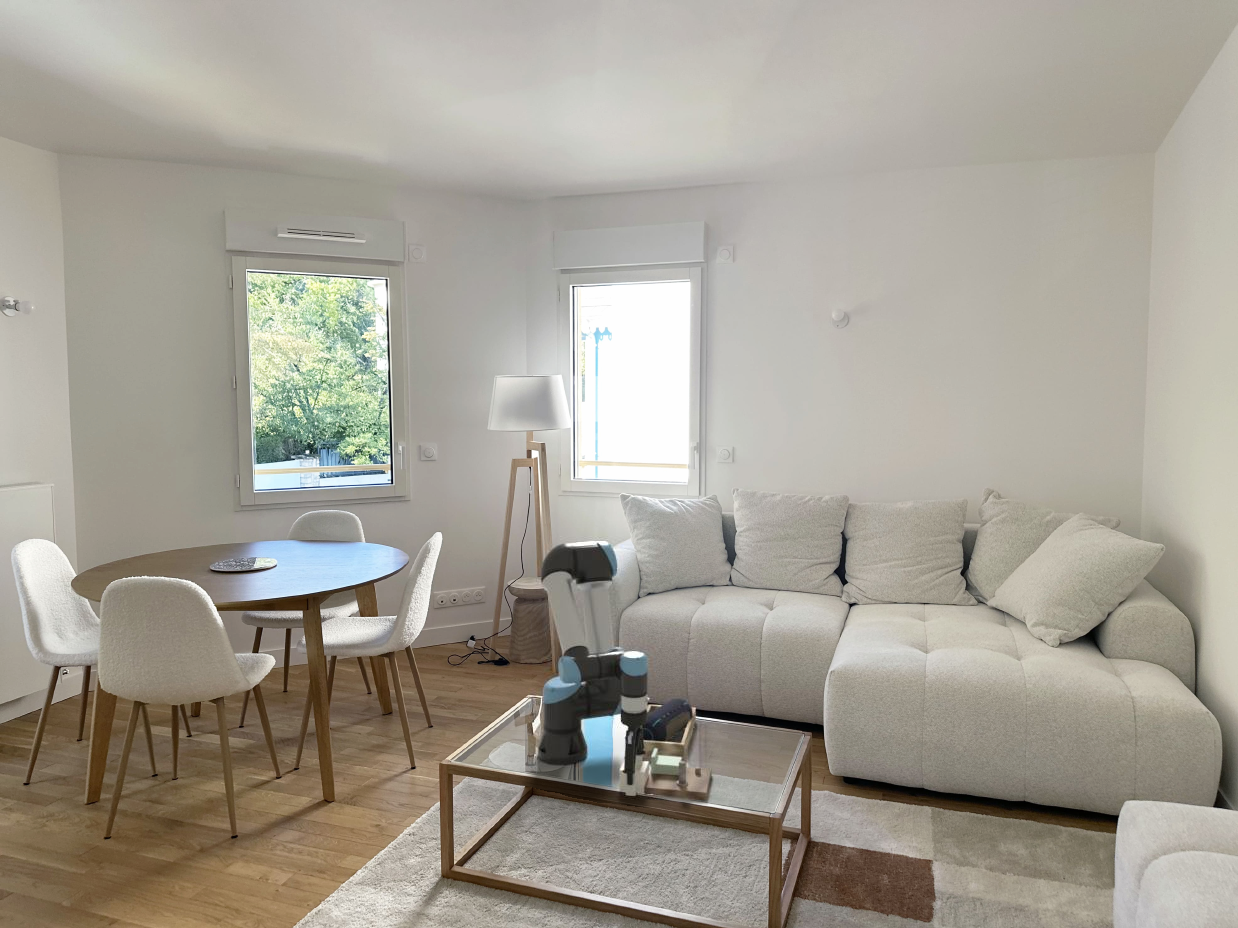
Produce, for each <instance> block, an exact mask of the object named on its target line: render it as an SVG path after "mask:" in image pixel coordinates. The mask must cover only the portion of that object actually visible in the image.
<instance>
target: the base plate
mask: <svg viewBox="0 0 1238 928" xmlns="http://www.w3.org/2000/svg"><path fill="white" fill-rule="evenodd" d="M711 779H712V768H708V767H707V768H705V767H700V766H695V767H692V766H687V762H686V761H685V760H684V761H680V762H679V776H678V775H666V774H654V773H651V770H650V771H649V776H648V779H647V781H646V784H645V787H644V793H643V794H644V795H647V794H653V795H652V796H658V795H659V797H660V796H662V797H670V798H682V799H683V798H684V799H691V800H693V799H694V800H704V801H705V800H707V799H708V793H709V788H710V784H711Z"/></svg>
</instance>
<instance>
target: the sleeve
mask: <svg viewBox="0 0 1238 928" xmlns="http://www.w3.org/2000/svg"><path fill="white" fill-rule="evenodd" d="M624 762H625V759H624V760H623V761H622V765H621V766H620V768H619V792H623V793H624V792H625V793H626V774H625V773H623V770H624ZM649 768H650V762H649V761H648V760H647V761H646V760H645V761H644V760H643V761H636V763H635V772H636V794H644V787H645V784H646V781H647V779H648V776H649V774H650V771H649V770H650V769H649Z"/></svg>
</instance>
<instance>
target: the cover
mask: <svg viewBox="0 0 1238 928" xmlns="http://www.w3.org/2000/svg"><path fill="white" fill-rule="evenodd" d="M680 761H682V757H674V756H661V755H658V749H657V748H654V751H653V753H652V756H651V758H650V771H651V773H654V774H666V775H678V776H679V762H680Z"/></svg>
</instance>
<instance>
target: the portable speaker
mask: <svg viewBox="0 0 1238 928" xmlns="http://www.w3.org/2000/svg"><path fill="white" fill-rule="evenodd" d="M661 705H662V706H660V707H659V708H657V709H655V710H654V711H652V712H650V713H649V714H648V721H647V723H646V724H645V725H643V740H649V741H662V742H668V741H669V740H671V739H672V738H673V737H675V736H676V735H677V734H679V733H680V732H682V731H683V730H686V727H687V724H688V721H689V719H691V718H692V717H693V712H692V708H691V707H692V706H691V704H690V703H689V702H688V701H687V700H685V699H683V698H673V699H670V700H669V701H667V702H666V703H664V704H661Z"/></svg>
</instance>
